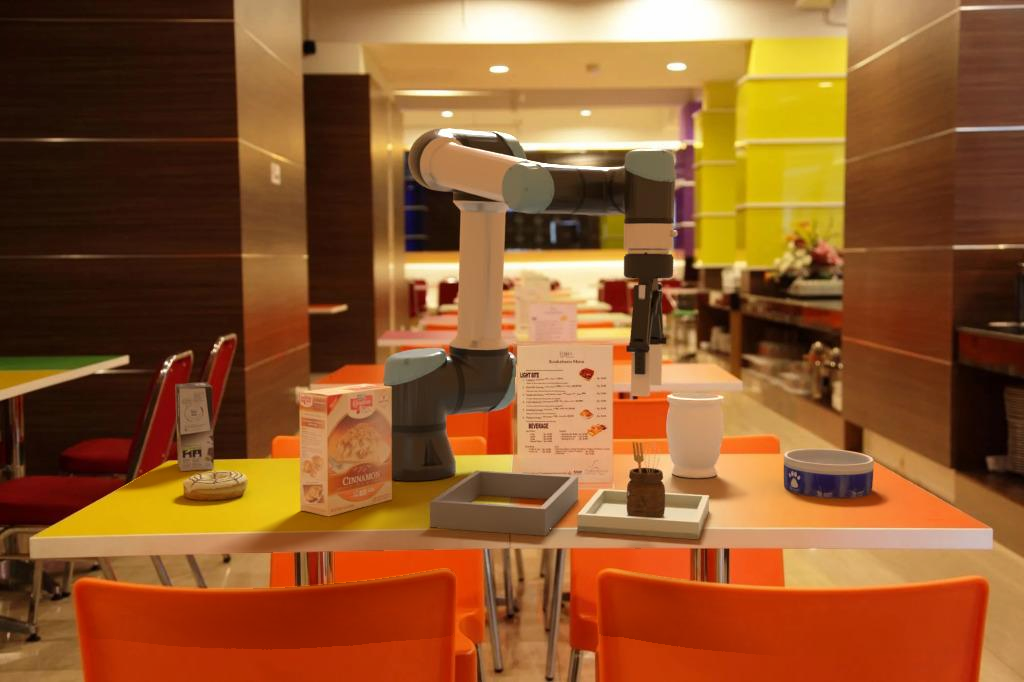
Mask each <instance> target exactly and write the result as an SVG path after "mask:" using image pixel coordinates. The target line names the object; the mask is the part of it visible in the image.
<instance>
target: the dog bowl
mask: <svg viewBox="0 0 1024 682" xmlns="http://www.w3.org/2000/svg"><path fill="white" fill-rule="evenodd" d="M874 466H875V461H874V458H873V457H871V456H870V455H867V454H864V453H861V452H856V451H851V450H850V451H849V450H843V449H833V448H799V449H793V450H788V451H786V452H785V453H784V455H783V487H784V489H785V490H786V491H789V492H791V493H794V494H797V495H802V496H807V497H813V498H824V499H855V498H863V497H867V496H869V495H871V494H872V492H873V486H874V484H873V483H874V482H873V481H874Z"/></svg>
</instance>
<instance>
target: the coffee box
mask: <svg viewBox="0 0 1024 682" xmlns="http://www.w3.org/2000/svg"><path fill="white" fill-rule="evenodd" d="M174 385H175V387H174V388H175V415H176V416H175V421H176V444H177V445H176V447H177V448H176V449H177V450H176V451H177V453H176V454H177V455H176V456H177V465H178V467H179V469H180V471H181V472H189V471H204V470H205V471H206V470H209V471H210V470H213V469H215V466H214V465H215V464H214V463H215V462H214V461H215V459H214V458H215V457H214V454H215V453H214V405H213V404H214V403H213V402H214V401H213V399H214V397H213V396H214V395H213V392H214V391H213V388H214V387H213V386H212V385H211V384H210V383H209V382H206V381H205V382H204V381H203V382H189V383H188V382H187V383H175V384H174Z"/></svg>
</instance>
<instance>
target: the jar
mask: <svg viewBox="0 0 1024 682" xmlns="http://www.w3.org/2000/svg"><path fill="white" fill-rule="evenodd" d="M724 398H725V397H724V396H723V395H719V394H715V393H714V394H713V393H707V392H706V393H705V392H679V393H678V392H676V393H671V394H668V395H666V400H667V403H669V405H668V406H669V407H668V410H667V416H666V425H665V428H666V430H665V431H666V432H665V433H666V437H667V438H666V440H667V444H668V454H669V456H670V458H671V462H672V464H673V468H671V471H670V472H671V474H673V475H674V476H677V477H679V478H685V479H686V478H687V479H707V478H713V477H715V476H717V475H718V471H717V469H716V468H715V465H716V464H717V462H718V461H719V457H720V454H721V449H722V448H721V447H722V442H723V439H724V438H723V437H724V424H725V423H724V415H723V410H722V407H721V406H722V404H723V403H724V401H725V400H724Z"/></svg>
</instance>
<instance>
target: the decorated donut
mask: <svg viewBox="0 0 1024 682" xmlns="http://www.w3.org/2000/svg"><path fill="white" fill-rule="evenodd" d="M248 483H249V482H248V478H247V476H246V475H245V474H244V473H241V472H238V471H235V470H213V471H205V472H202V473H197V474H194V475H192V476H190V477H188V478H186V479H184V481H183V483H182V485H183V495H184V497H185V498H186V499H189V500H196V501H203V502H204V501H210V502H211V501H215V500H216V501H224V500H230V499H236V498H239V497H240V496H242V495H244V493H245V492H246V490H247V488H248V486H249V485H248Z"/></svg>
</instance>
